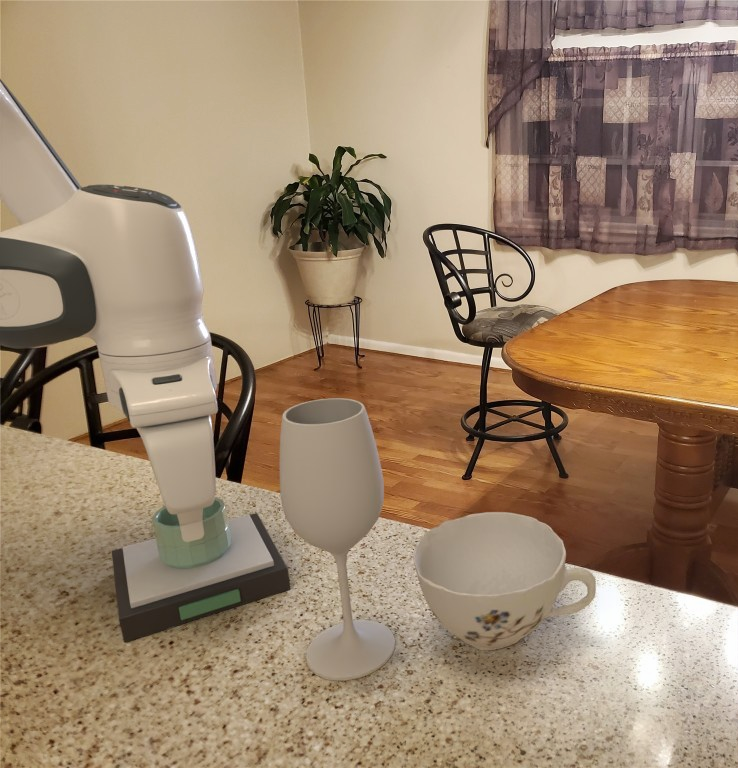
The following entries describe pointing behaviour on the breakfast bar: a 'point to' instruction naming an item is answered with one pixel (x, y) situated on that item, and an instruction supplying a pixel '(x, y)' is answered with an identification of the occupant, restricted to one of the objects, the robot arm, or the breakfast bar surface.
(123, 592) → the scale
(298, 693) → the breakfast bar surface
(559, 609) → the teacup
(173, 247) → the robot arm
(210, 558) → the bowl
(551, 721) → the breakfast bar surface
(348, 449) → the wineglass
